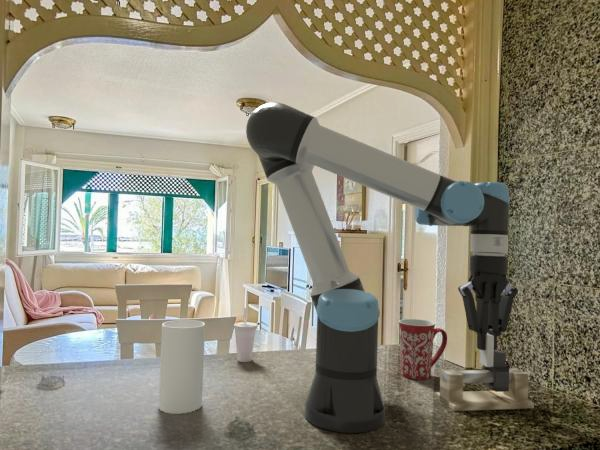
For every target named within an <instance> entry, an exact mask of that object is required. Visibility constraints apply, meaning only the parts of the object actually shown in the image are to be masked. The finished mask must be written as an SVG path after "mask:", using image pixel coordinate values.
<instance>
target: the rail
mask: <svg viewBox="0 0 600 450" xmlns="http://www.w3.org/2000/svg"><path fill="white" fill-rule="evenodd" d="M439 371H440V372H439V373H440V374H439V391H436V392H434V395H435V396H434V397H435V398H436V399H438V400H439V401H440V402H441V403H443V404H444V405H446V407H448V408H449V409H451V410H452V411H453V412H460V411H461V412H463V411H489V410H490V411H491V410H493V411H494V410H520V409H521V410H522V409H535V403H534V402H533V401H531V400H529V399H528V398H529V394H528V393H529V373H527V372H525V371H523V370H521V369H519V368H516V367H512V368H510V367H509V391H505V392H495V391H494V390H468V391H465V390H464V388H463V387H464V384H479V383H481V384H482V383H490V382H494V371H493V370H483V369H478V370H477V369H475V370H473V369H472V370H470V369H469V370H455V369H454V368H453V369H452V368H451V369H449V368H448V369H446V368H445V369H443V368H442V369H440V370H439Z"/></svg>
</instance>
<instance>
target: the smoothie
mask: <svg viewBox="0 0 600 450" xmlns="http://www.w3.org/2000/svg"><path fill="white" fill-rule="evenodd" d="M246 319H247V308H246V307H243V322H241V321H240V322H236V323H234V324H233V329H234V334H235V346H236V347H235V348H236V359H237V362H240V363H247V362H248V363H249V362H251V361H252V357H253V351H254V346H255V345H254V344H255V337H256V333H257V329H258V324H257V323H255V322H249V321H247V320H246Z"/></svg>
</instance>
